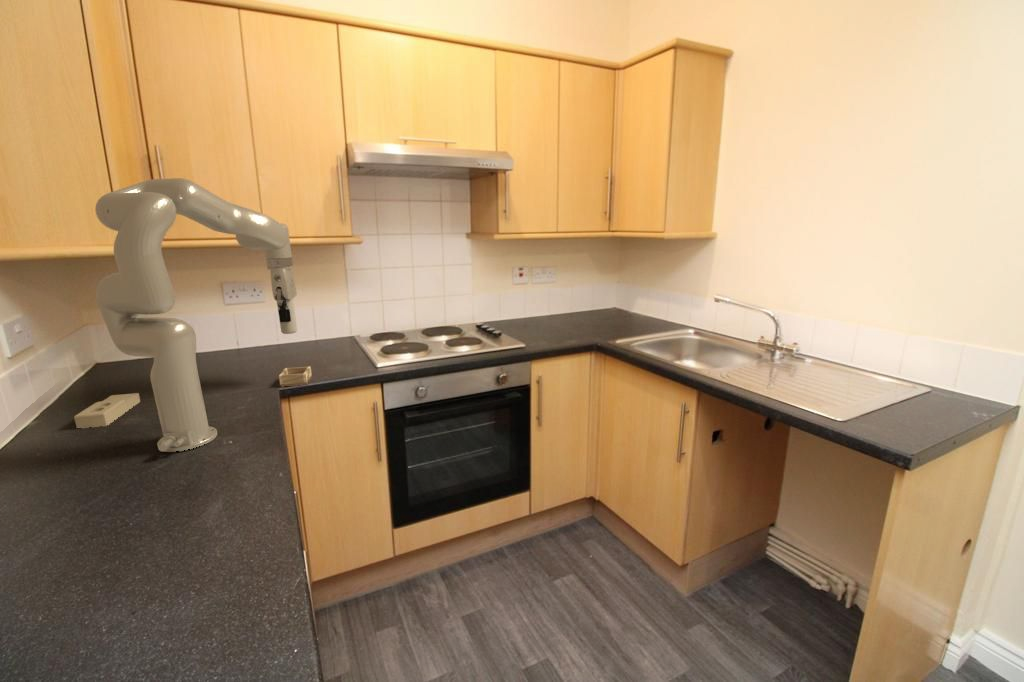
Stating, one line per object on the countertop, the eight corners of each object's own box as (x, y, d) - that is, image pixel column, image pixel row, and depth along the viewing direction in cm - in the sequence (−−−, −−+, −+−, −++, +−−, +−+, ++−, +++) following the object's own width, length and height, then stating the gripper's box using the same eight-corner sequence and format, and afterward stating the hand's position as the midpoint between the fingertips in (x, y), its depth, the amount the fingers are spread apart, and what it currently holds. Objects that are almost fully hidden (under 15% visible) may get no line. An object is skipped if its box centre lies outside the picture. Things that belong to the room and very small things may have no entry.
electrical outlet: (137, 390, 147) (103, 413, 130) (140, 402, 148) (107, 427, 131) (110, 392, 146) (73, 416, 129) (113, 404, 147) (76, 430, 130)
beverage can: (278, 333, 157) (272, 297, 154) (289, 330, 161) (284, 294, 158) (289, 334, 155) (284, 298, 152) (300, 331, 159) (295, 295, 156)
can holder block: (307, 385, 159) (305, 373, 158) (280, 387, 158) (278, 375, 157) (312, 377, 167) (310, 366, 166) (286, 379, 166) (285, 368, 165)
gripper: (285, 266, 145) (293, 325, 149) (298, 260, 161) (305, 314, 166) (258, 267, 143) (268, 326, 148) (274, 261, 159) (282, 315, 164)
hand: (287, 319), depth 157 cm, fingers closed on beverage can, 4 cm apart
